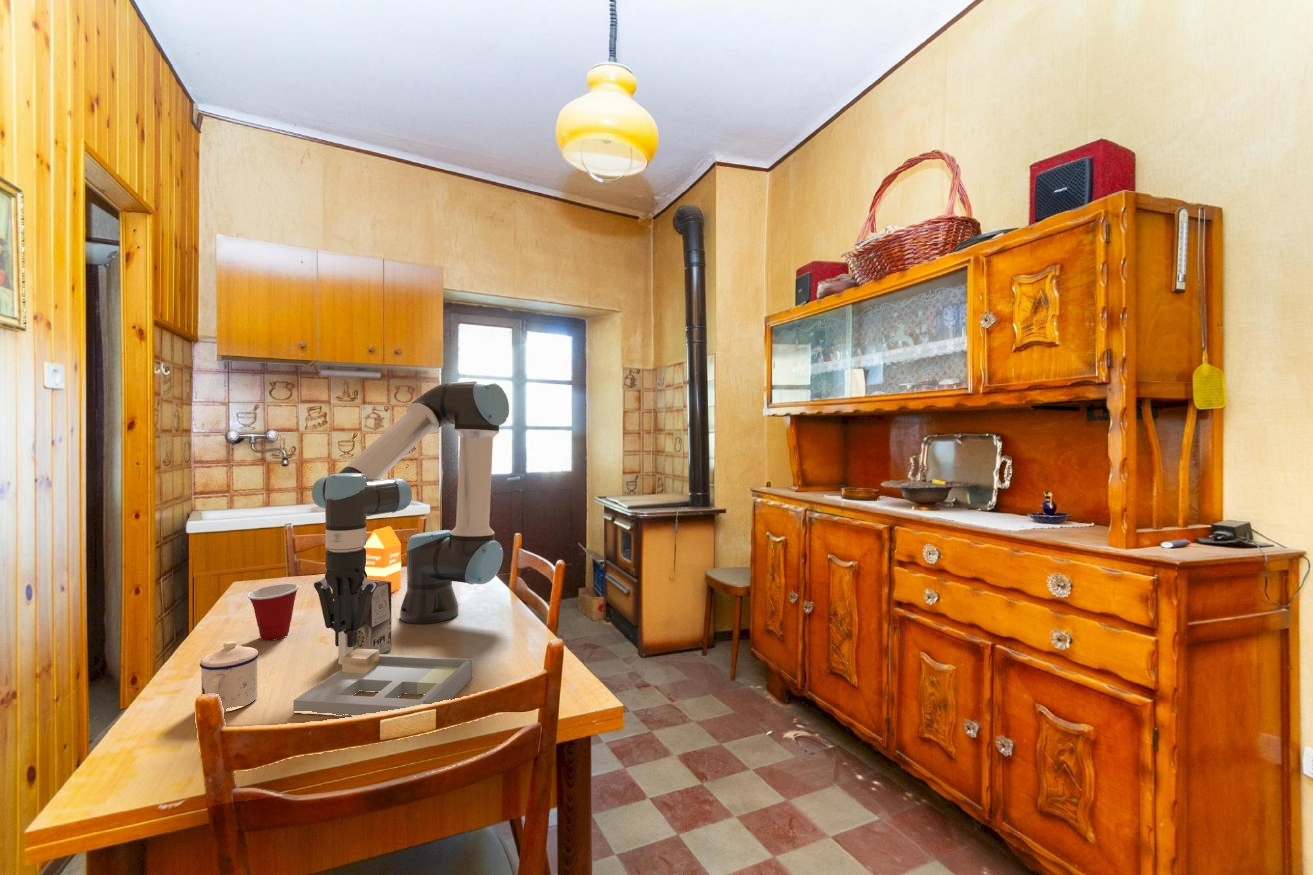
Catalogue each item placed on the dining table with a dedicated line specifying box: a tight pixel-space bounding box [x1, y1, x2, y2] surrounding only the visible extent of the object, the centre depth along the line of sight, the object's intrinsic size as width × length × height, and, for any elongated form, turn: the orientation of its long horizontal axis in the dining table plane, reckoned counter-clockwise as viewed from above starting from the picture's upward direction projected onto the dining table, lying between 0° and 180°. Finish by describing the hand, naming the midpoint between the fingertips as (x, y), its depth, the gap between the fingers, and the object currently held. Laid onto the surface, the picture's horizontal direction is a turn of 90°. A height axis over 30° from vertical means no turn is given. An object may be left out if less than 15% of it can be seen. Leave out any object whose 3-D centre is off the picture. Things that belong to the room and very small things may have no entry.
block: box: [341, 648, 379, 674], centre depth 125 cm, size 5×5×3 cm
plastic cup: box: [246, 582, 299, 641], centre depth 149 cm, size 11×11×12 cm
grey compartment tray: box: [292, 653, 474, 718], centre depth 118 cm, size 20×26×4 cm
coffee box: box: [345, 579, 392, 654], centre depth 140 cm, size 9×6×16 cm
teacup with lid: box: [199, 640, 260, 714], centre depth 112 cm, size 12×9×12 cm
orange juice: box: [364, 525, 402, 593], centre depth 190 cm, size 8×9×20 cm
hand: (345, 661), depth 125 cm, fingers closed
